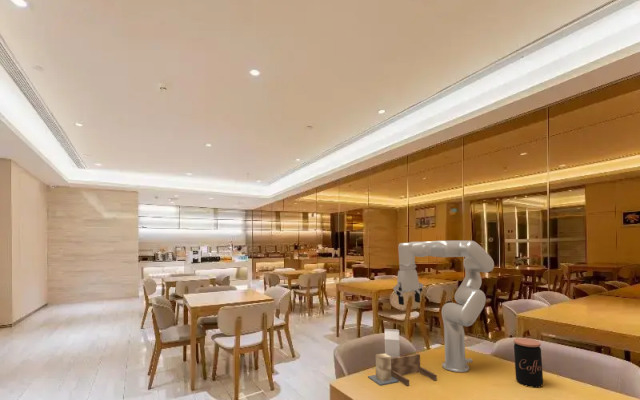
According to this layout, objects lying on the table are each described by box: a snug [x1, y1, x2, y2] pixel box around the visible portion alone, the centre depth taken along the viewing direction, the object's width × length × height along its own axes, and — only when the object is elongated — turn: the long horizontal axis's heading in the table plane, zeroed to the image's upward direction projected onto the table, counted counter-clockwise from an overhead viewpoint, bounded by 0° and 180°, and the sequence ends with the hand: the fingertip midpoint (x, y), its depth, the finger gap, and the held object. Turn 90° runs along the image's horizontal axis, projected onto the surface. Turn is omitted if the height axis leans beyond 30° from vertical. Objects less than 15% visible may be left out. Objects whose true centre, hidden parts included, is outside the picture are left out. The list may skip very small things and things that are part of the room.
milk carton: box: [384, 328, 401, 358], centre depth 174 cm, size 7×7×19 cm
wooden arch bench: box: [391, 353, 438, 387], centre depth 161 cm, size 16×13×8 cm
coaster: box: [367, 374, 400, 386], centre depth 159 cm, size 10×10×1 cm
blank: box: [375, 352, 391, 381], centre depth 160 cm, size 5×5×10 cm
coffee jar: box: [513, 337, 544, 388], centre depth 157 cm, size 11×11×18 cm
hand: (409, 303), depth 170 cm, fingers open, 9 cm apart
